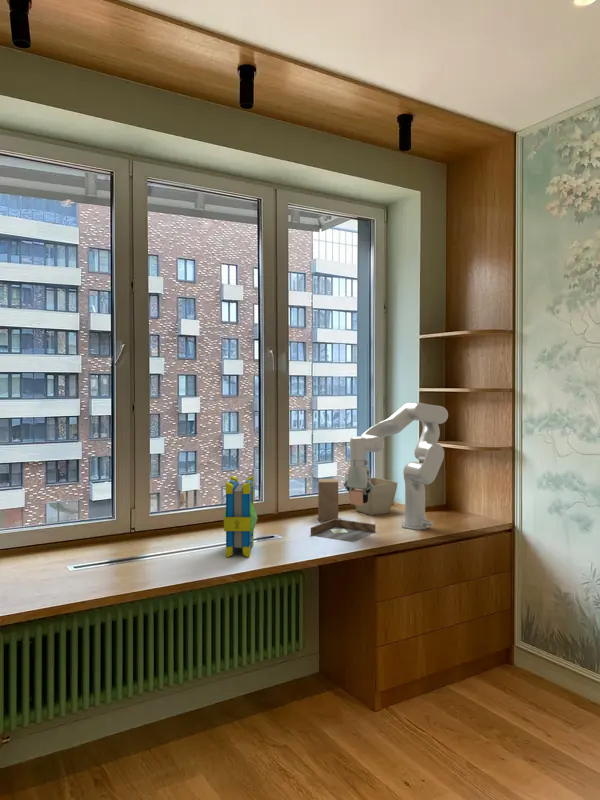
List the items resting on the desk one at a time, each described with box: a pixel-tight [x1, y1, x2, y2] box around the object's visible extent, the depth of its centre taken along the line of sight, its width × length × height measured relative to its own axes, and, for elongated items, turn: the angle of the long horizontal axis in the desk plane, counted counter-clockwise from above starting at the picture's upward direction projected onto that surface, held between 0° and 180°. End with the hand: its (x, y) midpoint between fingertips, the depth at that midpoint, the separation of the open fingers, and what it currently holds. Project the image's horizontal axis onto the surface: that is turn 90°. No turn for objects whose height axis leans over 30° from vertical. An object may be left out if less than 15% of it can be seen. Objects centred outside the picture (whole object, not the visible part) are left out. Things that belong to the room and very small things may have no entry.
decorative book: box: [222, 475, 259, 558], centre depth 255 cm, size 14×23×30 cm, turn 0°
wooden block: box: [317, 478, 339, 522], centre depth 315 cm, size 10×10×20 cm
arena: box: [310, 518, 377, 543], centre depth 283 cm, size 22×22×4 cm
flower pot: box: [354, 477, 398, 516], centre depth 332 cm, size 19×19×17 cm
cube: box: [349, 489, 368, 506], centre depth 284 cm, size 6×6×6 cm
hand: (358, 501), depth 284 cm, fingers closed on cube, 6 cm apart
